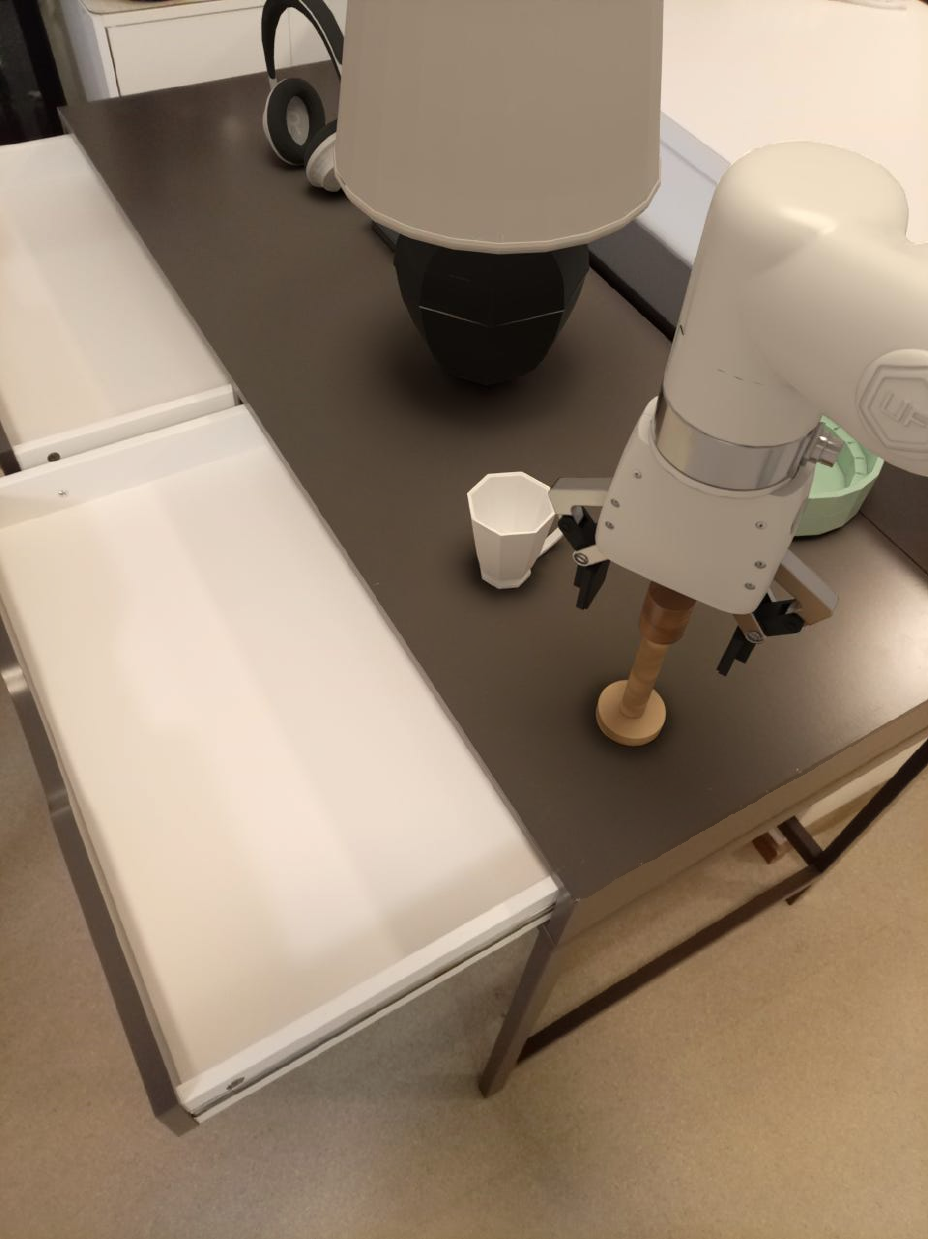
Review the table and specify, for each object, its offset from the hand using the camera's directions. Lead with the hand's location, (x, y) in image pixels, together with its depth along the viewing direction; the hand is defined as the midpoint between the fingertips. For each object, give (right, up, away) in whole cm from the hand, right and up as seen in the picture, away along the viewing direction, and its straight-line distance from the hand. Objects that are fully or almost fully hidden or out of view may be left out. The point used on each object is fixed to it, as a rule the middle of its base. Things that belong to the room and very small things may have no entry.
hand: (657, 625), depth 57 cm
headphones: (-30, +56, +54) cm, 84 cm away
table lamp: (-10, +26, +33) cm, 43 cm away
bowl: (+16, +13, +24) cm, 32 cm away
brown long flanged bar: (0, -7, +9) cm, 12 cm away
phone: (-15, +47, +48) cm, 69 cm away
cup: (-8, +5, +18) cm, 20 cm away
